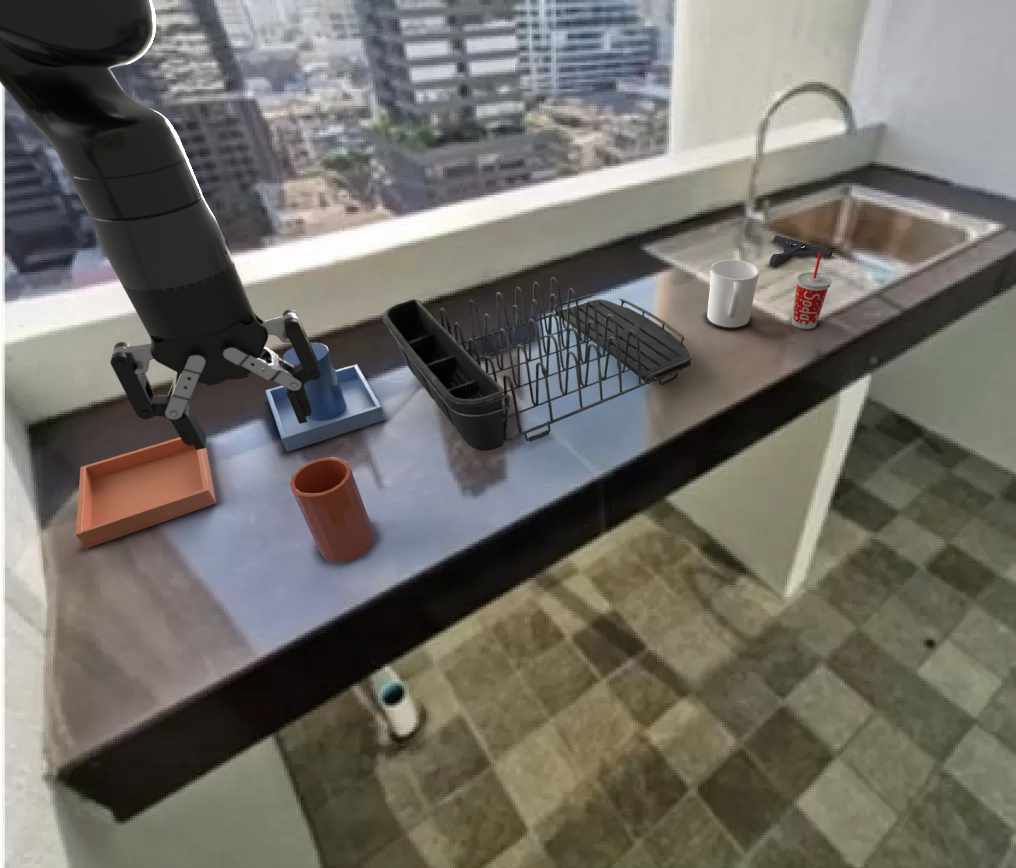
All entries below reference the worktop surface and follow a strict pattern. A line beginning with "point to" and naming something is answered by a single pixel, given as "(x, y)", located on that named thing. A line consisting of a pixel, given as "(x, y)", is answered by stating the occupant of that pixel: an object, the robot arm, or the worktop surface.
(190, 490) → the terracotta tray
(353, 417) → the blue tray
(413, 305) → the dish rack
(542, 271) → the worktop surface
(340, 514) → the terracotta cup
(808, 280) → the beverage cup
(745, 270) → the mug
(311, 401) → the blue upright cylinder
